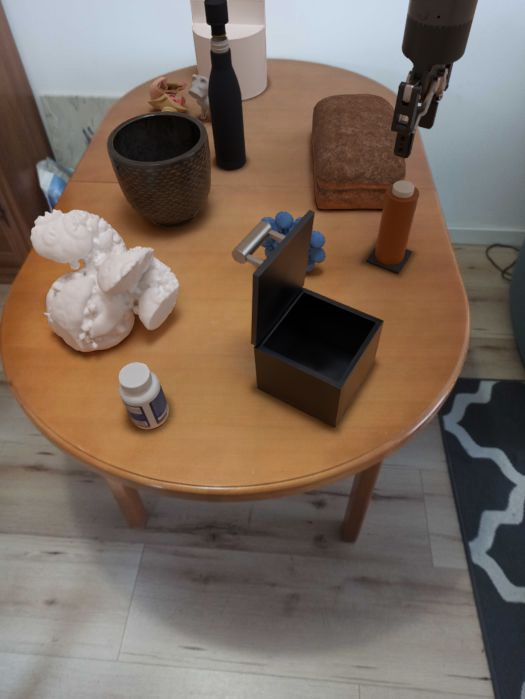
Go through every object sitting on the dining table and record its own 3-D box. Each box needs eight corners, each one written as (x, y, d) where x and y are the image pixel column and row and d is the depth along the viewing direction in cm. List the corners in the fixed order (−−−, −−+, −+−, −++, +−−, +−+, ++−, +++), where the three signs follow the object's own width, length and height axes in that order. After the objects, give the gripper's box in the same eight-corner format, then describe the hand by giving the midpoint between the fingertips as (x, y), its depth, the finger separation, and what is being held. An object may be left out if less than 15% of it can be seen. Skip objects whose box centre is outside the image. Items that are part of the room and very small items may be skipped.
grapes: (253, 284, 86) (249, 228, 76) (260, 257, 90) (257, 200, 80) (321, 290, 84) (326, 234, 75) (326, 263, 88) (330, 206, 79)
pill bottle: (162, 391, 73) (148, 351, 66) (174, 420, 70) (160, 382, 63) (126, 406, 72) (107, 366, 64) (137, 436, 69) (118, 398, 61)
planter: (176, 255, 91) (158, 177, 78) (110, 221, 98) (84, 144, 85) (235, 206, 99) (228, 128, 86) (171, 177, 106) (155, 101, 93)
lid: (315, 211, 60) (273, 193, 62) (258, 276, 54) (214, 254, 56) (303, 285, 71) (268, 268, 73) (255, 346, 65) (218, 326, 67)
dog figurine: (188, 125, 118) (180, 78, 110) (222, 102, 124) (217, 55, 116) (205, 132, 116) (198, 84, 108) (239, 107, 122) (235, 61, 114)
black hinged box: (374, 363, 75) (384, 320, 67) (335, 428, 69) (341, 389, 61) (300, 330, 79) (301, 286, 72) (257, 388, 73) (253, 347, 65)
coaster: (411, 253, 89) (412, 251, 89) (398, 274, 86) (398, 271, 86) (380, 242, 91) (380, 239, 91) (365, 262, 88) (366, 259, 88)
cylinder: (208, 67, 136) (193, -64, 113) (272, 70, 133) (269, -63, 111) (192, 99, 125) (172, -38, 103) (261, 103, 123) (255, -37, 101)
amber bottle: (408, 251, 89) (425, 182, 77) (396, 269, 86) (413, 200, 75) (381, 242, 90) (395, 173, 79) (369, 259, 88) (381, 190, 77)
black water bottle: (246, 169, 106) (234, 6, 82) (215, 171, 106) (195, 8, 83) (246, 152, 110) (234, -8, 86) (216, 154, 110) (197, -6, 87)
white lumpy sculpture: (-16, 308, 72) (51, 186, 72) (75, 332, 91) (129, 236, 90) (75, 373, 66) (149, 240, 65) (153, 385, 85) (211, 282, 84)
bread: (313, 213, 97) (316, 159, 88) (310, 131, 114) (312, 79, 105) (403, 212, 96) (415, 158, 87) (386, 129, 114) (395, 77, 104)
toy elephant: (191, 124, 119) (159, 104, 112) (165, 134, 126) (133, 116, 119) (197, 87, 120) (165, 65, 113) (170, 99, 127) (138, 79, 119)
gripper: (451, 39, 54) (420, 174, 66) (492, -6, 61) (456, 124, 73) (385, 26, 56) (367, 159, 69) (432, -16, 63) (407, 111, 76)
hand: (413, 140), depth 71 cm, fingers open, 8 cm apart
